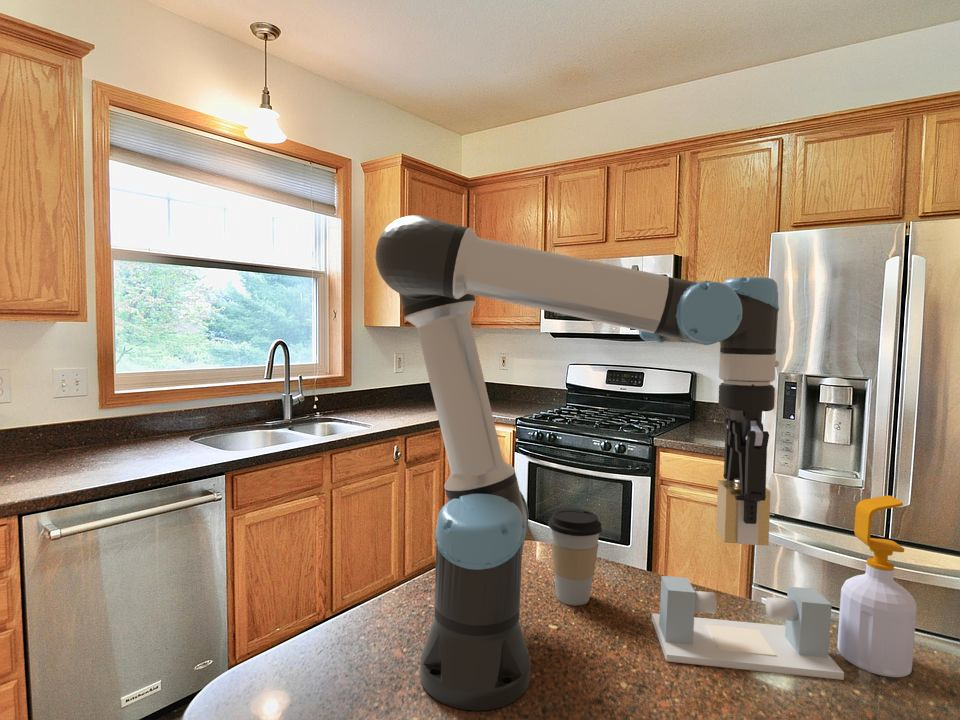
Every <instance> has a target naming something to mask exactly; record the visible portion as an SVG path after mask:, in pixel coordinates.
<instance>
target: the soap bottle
mask: <svg viewBox="0 0 960 720" xmlns="http://www.w3.org/2000/svg"><path fill="white" fill-rule="evenodd" d="M903 505H904V503H903V501H901V500H900V499H898V498H896V497H895V496H892V495H881V496H877V497H872V498H867V499H862V500H861V501H859V502H858V503H857V504H856V506H855V514H854V515H855V516H854V529H853V530H854V531H853V532H854V535H855V537H856V538H857V539H858V540H859V541H861V542H862V543H864V544H865V546H868V548H869V551H870V552H872V553H873V557H869V558H867V559H866V564H865V573H863V574H857V575H855V576H852V577H850V578H848V579H846V580H845V581H844V582H843V585H842V586H841V589H840V600H839V612H838V613H839V616H838V628H837V630H838V632H837V642H836V643H837V644H836V645H837V647H836V648H837V650H838V652H839V654H840V656H841V657H843V658H844V659H845V660H846V661H847V662H849V663H850V664H852V665H853V666H855V667H857V668H859V669H862V670H863V671H866V672H868V673H871V674H875V675H878V676H882V677H889V678H904V677H906V676H909V675H910V674H911V673H912V669H913V660H914V659H913V658H914V647H915V645H914V644H915V631H916V620H917V619H916V618H917V608H918V607H917V603H916V600H915V598H914V597H913V595H912V594H911V593H910V592H909V591H908V590H907V589H906V588H905V587H904V586H902V585H901V584H900V583H898V582H897V581H896V580H895V579H894V574H895V573H894V572H895V565H894V563H892V562H890V561H889V560H888V559H889V558H888V556H893V553H894V552H896V553H904V552H905V548H904V547H903V546H901V545H900V544H898V543H897V542H896V541H893V540H890V539H884V538H875V537H871V534H872V533H871V532H872V519H873V516H874V514H875V513H876V512H879V511H883V510H888V509H893V508H899V507H902V506H903Z"/></svg>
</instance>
